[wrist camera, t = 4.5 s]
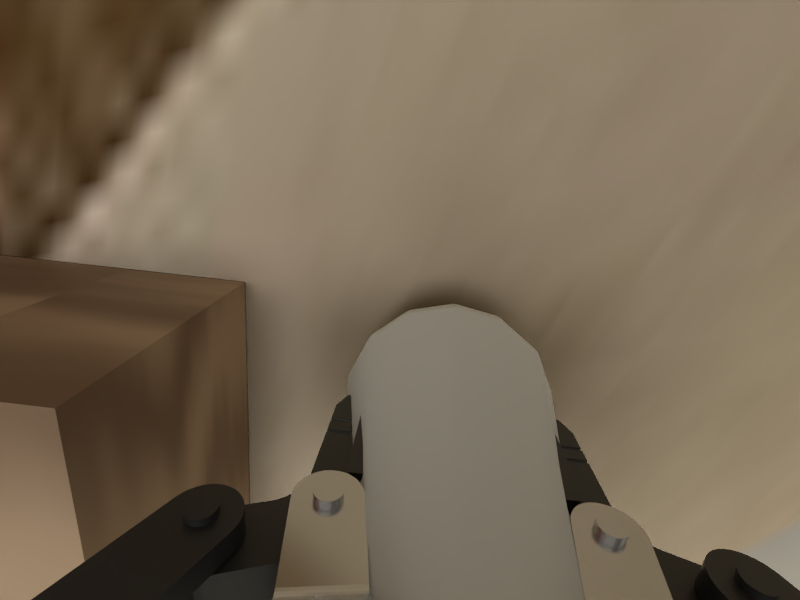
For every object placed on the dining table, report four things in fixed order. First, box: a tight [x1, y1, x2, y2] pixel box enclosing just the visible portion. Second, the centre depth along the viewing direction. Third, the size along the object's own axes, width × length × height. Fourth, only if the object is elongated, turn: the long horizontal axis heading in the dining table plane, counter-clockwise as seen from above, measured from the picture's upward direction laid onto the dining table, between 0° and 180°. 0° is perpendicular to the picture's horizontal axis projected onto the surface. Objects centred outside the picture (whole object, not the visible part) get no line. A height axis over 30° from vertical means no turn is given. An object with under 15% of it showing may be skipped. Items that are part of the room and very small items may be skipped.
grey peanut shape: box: [347, 303, 584, 600], centre depth 8 cm, size 6×6×13 cm
